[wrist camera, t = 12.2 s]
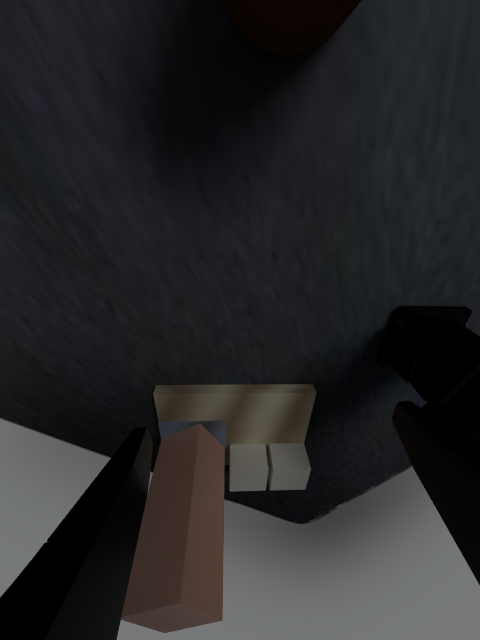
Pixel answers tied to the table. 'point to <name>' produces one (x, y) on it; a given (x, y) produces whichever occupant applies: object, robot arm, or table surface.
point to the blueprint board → (237, 412)
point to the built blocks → (268, 467)
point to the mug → (289, 22)
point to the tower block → (180, 537)
